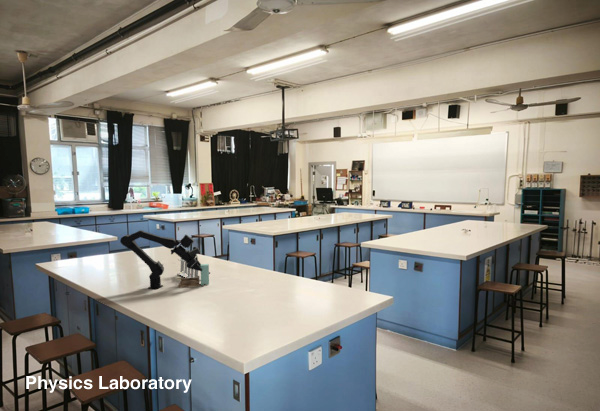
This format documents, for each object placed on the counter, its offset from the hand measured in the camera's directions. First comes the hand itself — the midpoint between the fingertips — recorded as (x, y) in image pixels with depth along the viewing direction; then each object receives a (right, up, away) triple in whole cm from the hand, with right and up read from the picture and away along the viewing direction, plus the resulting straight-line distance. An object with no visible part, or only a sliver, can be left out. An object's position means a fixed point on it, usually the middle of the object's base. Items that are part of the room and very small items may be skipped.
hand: (202, 268), depth 221 cm
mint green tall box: (+1, -10, +1) cm, 10 cm away
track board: (-8, -10, -1) cm, 13 cm away
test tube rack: (-14, -9, +15) cm, 22 cm away
